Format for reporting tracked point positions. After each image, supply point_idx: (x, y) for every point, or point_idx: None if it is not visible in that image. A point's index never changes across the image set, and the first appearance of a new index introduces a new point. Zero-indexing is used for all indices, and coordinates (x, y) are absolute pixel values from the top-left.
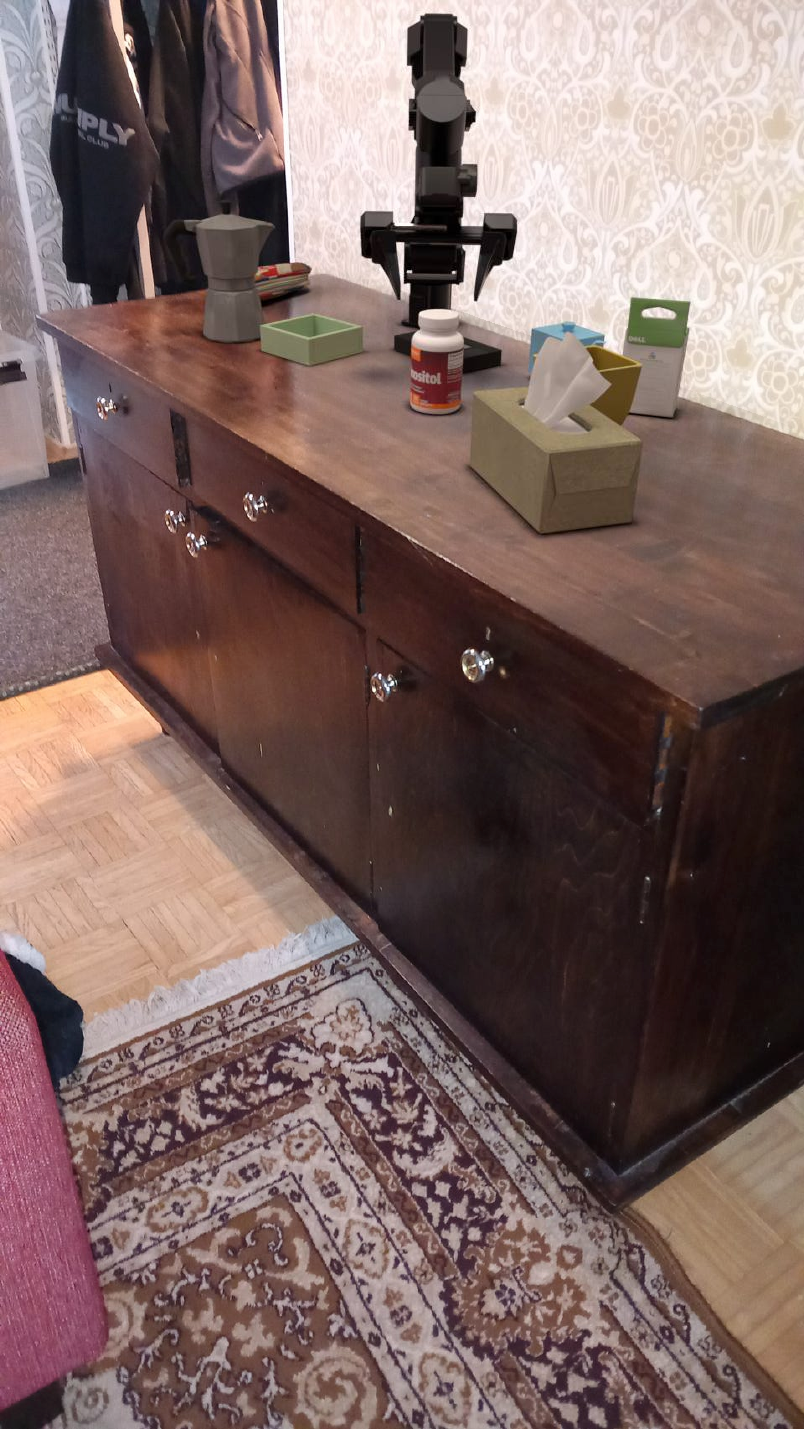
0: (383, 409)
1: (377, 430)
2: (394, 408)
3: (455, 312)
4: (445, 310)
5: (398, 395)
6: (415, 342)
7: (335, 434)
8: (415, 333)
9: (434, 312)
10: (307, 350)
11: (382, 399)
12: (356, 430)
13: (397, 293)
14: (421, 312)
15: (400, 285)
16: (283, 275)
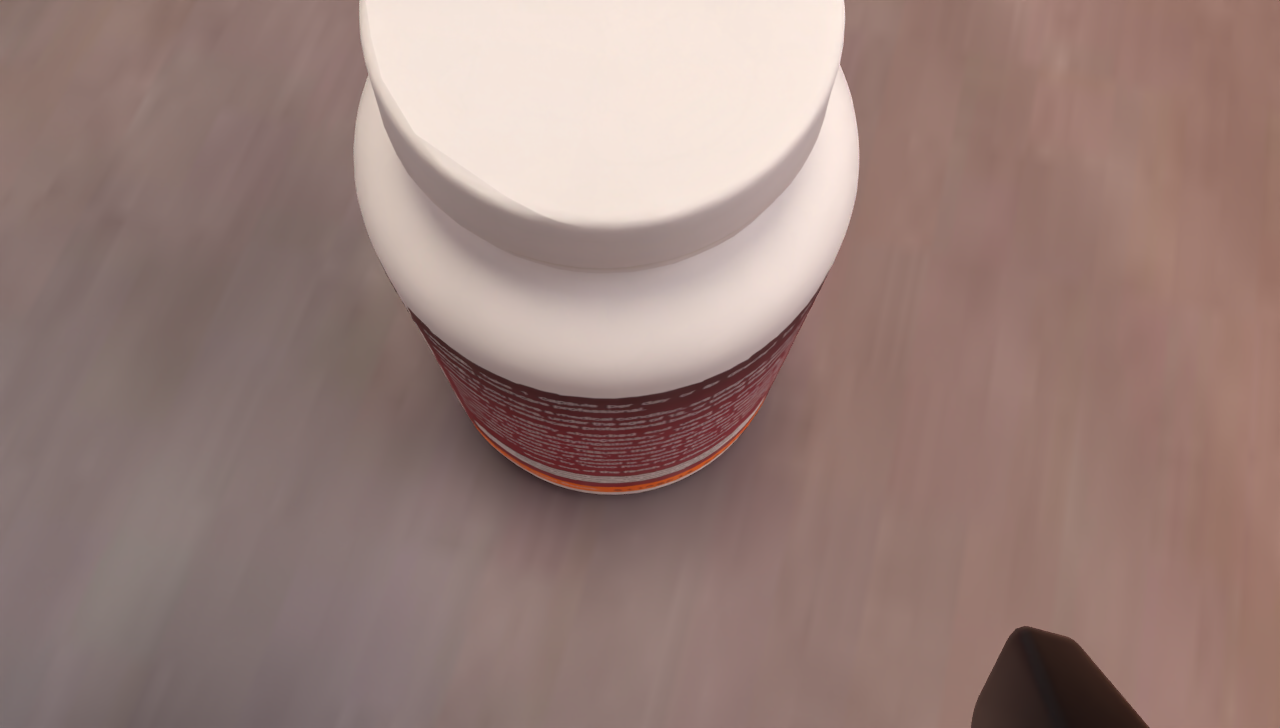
0: (943, 378)
1: (1034, 46)
2: (870, 382)
3: (383, 9)
4: (470, 128)
5: (789, 644)
6: (847, 84)
7: (1268, 35)
8: (829, 179)
9: (635, 71)
10: None
11: (915, 579)
12: (1149, 68)
13: (1076, 648)
14: (796, 100)
15: (1060, 716)
16: None
